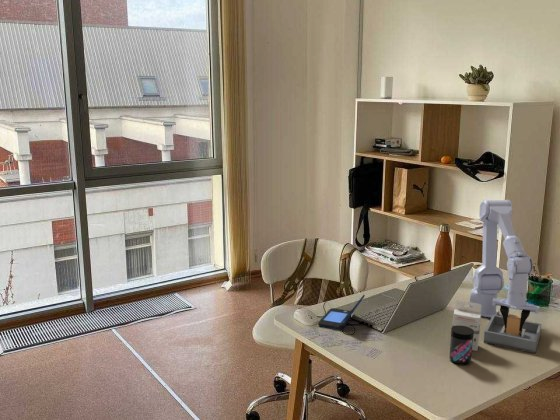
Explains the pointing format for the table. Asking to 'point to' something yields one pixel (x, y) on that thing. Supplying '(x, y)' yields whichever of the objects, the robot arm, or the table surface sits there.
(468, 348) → the supplement container
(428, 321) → the table surface
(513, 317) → the orange brown rectangular block
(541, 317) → the table surface
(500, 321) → the walled box
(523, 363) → the table surface
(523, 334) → the socket
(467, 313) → the ink box
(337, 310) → the black screen device
